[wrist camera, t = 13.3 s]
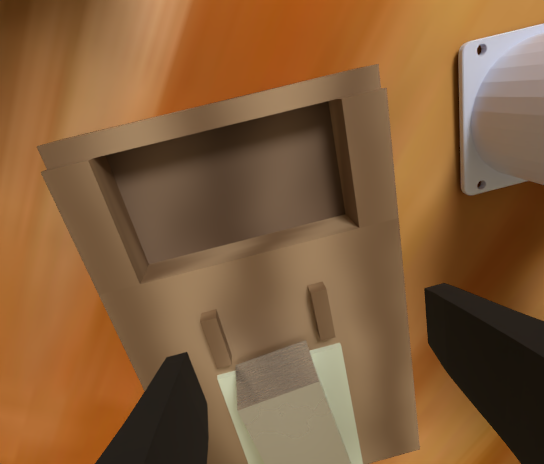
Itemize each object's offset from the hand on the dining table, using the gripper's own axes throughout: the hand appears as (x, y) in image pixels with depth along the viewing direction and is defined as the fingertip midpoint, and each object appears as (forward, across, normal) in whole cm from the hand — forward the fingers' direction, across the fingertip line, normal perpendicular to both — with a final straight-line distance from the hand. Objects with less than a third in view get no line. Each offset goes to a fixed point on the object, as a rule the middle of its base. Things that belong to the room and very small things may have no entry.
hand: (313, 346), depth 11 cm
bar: (+7, +1, +11) cm, 13 cm away
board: (+10, +1, +5) cm, 12 cm away
